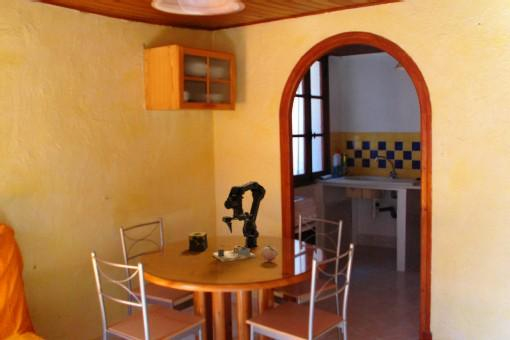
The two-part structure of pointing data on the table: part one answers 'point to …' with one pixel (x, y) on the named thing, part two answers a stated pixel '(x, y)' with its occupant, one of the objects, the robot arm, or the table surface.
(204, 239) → the tissue box
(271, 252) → the decorative fruit
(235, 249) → the gear
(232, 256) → the gear board
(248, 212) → the robot arm
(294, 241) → the table surface
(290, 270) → the table surface
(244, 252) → the gear
